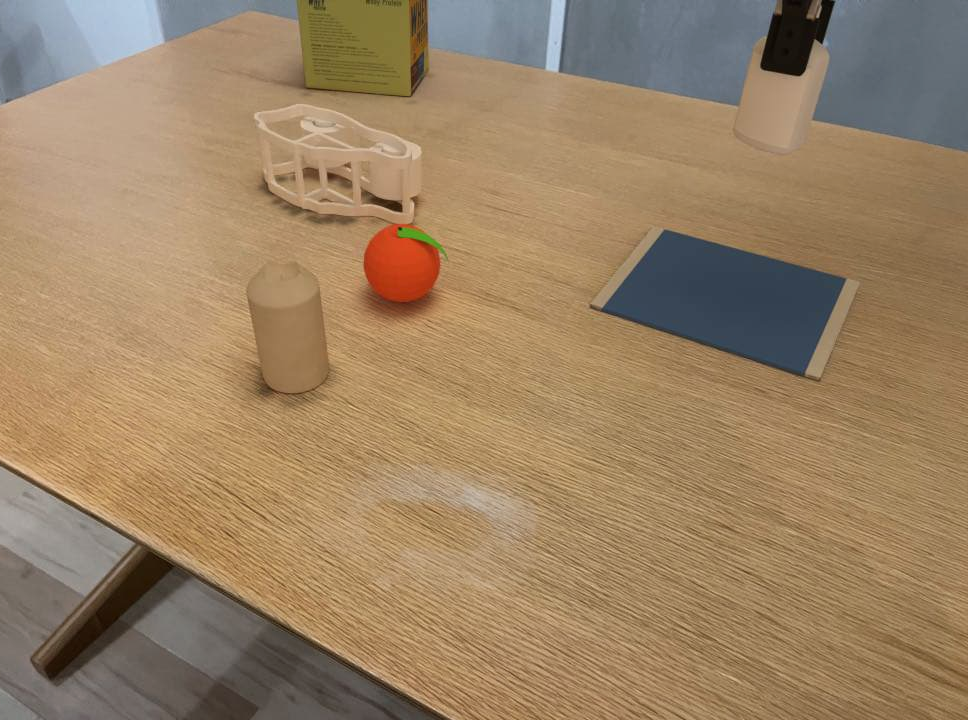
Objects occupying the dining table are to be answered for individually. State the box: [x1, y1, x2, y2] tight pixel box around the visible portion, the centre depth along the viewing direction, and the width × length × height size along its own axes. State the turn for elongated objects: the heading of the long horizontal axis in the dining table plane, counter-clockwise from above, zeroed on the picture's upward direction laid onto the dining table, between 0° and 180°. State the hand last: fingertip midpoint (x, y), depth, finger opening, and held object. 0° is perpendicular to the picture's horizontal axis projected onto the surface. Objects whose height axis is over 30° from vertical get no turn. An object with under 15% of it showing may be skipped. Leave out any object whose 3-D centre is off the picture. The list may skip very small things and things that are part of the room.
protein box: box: [296, 0, 430, 97], centre depth 111 cm, size 10×15×16 cm
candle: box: [245, 260, 330, 394], centre depth 65 cm, size 6×6×10 cm
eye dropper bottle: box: [732, 5, 830, 156], centre depth 63 cm, size 4×6×12 cm
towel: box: [589, 225, 861, 382], centre depth 75 cm, size 20×16×1 cm
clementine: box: [363, 223, 450, 303], centre depth 74 cm, size 8×7×7 cm
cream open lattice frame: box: [253, 103, 423, 225], centre depth 88 cm, size 20×11×7 cm, turn 46°
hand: (790, 59), depth 63 cm, fingers closed on eye dropper bottle, 3 cm apart
